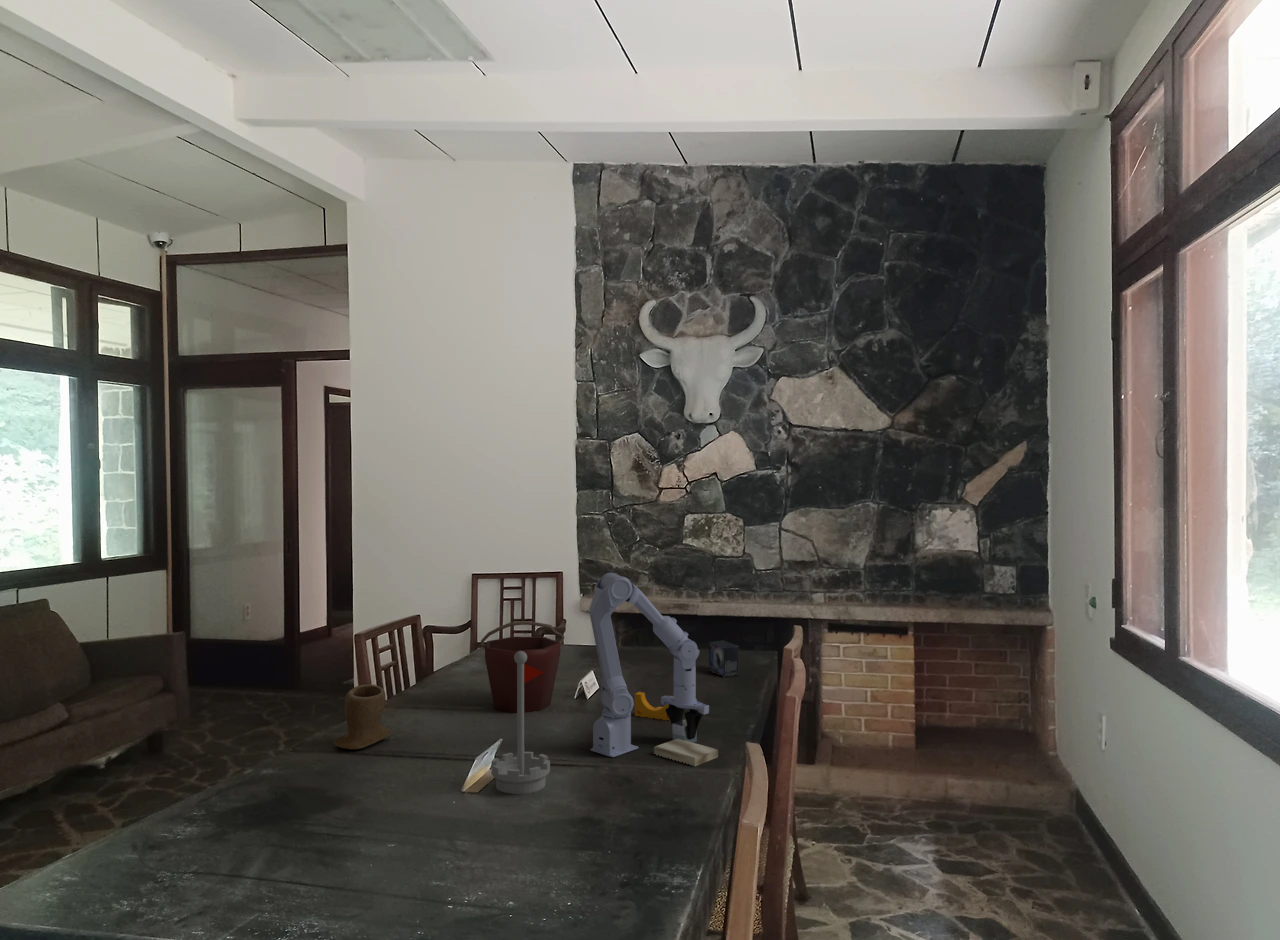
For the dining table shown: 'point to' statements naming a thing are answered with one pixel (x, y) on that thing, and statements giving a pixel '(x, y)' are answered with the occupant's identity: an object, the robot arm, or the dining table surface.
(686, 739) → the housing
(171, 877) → the dining table surface
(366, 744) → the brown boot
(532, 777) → the flag stand
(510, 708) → the bucket
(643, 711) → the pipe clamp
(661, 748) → the cream flat block
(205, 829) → the dining table surface
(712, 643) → the small box
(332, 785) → the dining table surface
